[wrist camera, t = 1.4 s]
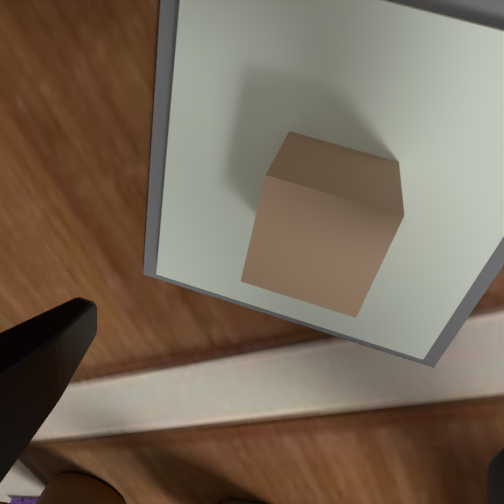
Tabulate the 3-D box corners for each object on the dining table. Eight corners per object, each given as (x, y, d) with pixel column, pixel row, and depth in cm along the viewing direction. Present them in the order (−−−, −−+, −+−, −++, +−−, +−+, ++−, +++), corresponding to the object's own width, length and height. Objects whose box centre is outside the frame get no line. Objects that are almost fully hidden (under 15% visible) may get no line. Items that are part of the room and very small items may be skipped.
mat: (432, 359, 21) (433, 367, 21) (147, 268, 23) (143, 274, 22) (657, 25, 13) (666, 27, 12) (172, -93, 14) (166, -95, 13)
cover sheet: (421, 347, 20) (431, 437, 16) (162, 265, 21) (115, 331, 18) (606, 55, 13) (706, 95, 9) (192, -49, 14) (120, -54, 10)
